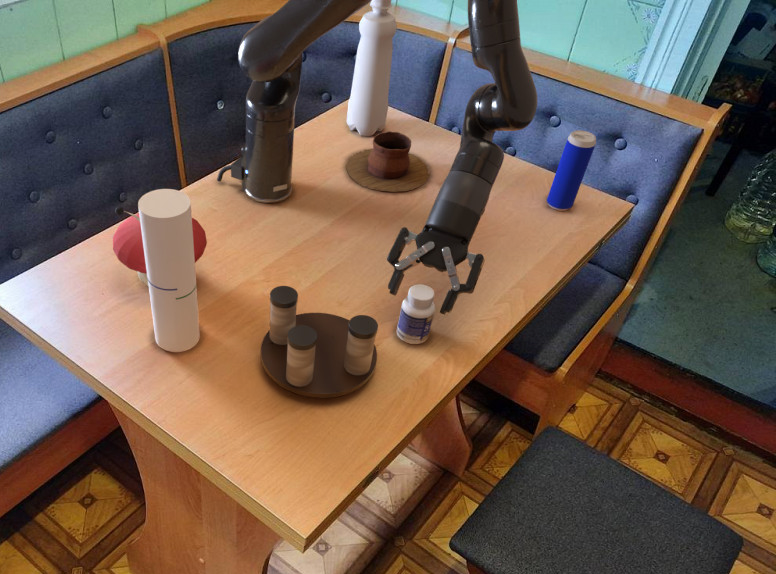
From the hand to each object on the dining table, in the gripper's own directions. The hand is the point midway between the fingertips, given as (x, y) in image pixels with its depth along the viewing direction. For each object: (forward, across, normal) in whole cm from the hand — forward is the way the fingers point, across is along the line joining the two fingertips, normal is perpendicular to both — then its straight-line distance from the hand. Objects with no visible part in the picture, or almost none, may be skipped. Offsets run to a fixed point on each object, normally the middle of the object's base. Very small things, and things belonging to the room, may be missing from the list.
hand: (417, 303), depth 114 cm
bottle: (-37, -37, +47) cm, 70 cm away
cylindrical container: (+20, -32, -10) cm, 39 cm away
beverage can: (-32, +10, +42) cm, 54 cm away
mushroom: (+12, -43, -2) cm, 44 cm away
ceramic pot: (-27, -25, +37) cm, 52 cm away
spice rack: (+13, -10, -6) cm, 18 cm away
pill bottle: (+4, 0, +5) cm, 7 cm away
